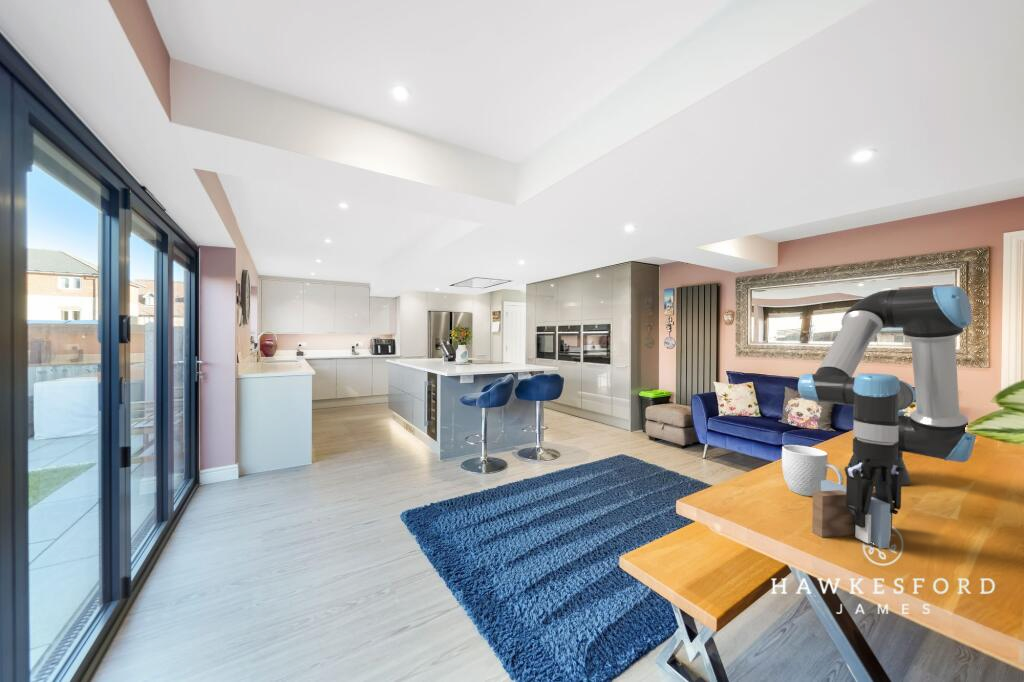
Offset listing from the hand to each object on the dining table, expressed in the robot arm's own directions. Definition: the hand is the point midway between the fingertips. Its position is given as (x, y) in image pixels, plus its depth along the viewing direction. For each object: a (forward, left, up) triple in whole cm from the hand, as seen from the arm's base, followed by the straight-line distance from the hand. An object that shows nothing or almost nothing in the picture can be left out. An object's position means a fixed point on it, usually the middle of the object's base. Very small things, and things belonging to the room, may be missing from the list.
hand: (872, 539), depth 86 cm
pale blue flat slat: (0, -4, -1) cm, 5 cm away
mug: (-10, -25, -1) cm, 27 cm away
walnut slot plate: (0, -4, -1) cm, 5 cm away
